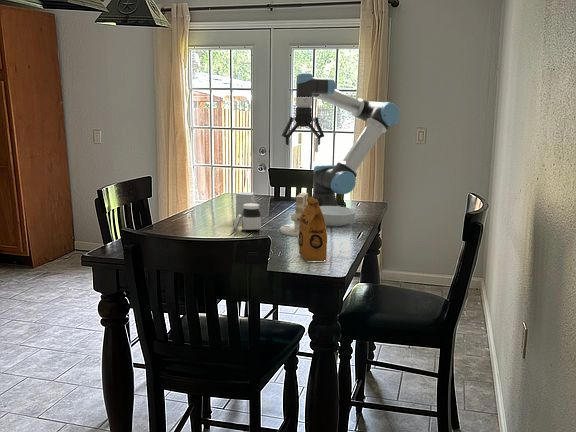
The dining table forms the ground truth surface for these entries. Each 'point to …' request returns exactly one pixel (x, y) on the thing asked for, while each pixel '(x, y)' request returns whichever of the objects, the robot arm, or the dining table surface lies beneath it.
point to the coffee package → (312, 232)
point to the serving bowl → (337, 215)
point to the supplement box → (243, 201)
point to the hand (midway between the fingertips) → (302, 152)
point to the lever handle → (300, 206)
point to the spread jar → (249, 218)
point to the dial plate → (291, 229)
